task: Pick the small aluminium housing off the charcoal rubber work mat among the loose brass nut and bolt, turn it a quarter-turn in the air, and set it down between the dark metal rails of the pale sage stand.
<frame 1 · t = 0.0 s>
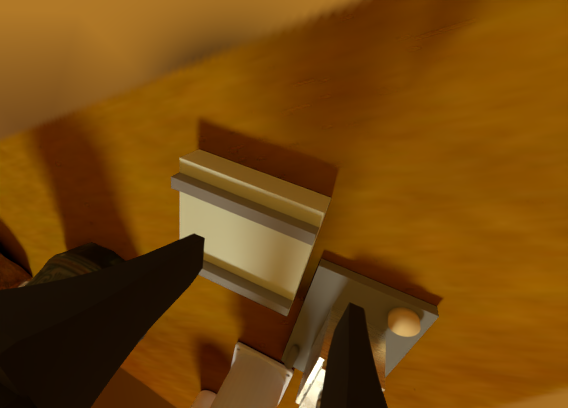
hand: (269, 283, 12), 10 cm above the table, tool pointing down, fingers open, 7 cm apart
housing: (343, 342, 26), point 1 cm above the table, touching work mat
beer stein: (120, 293, 40), on the table
rough brown rock: (8, 258, 49), on the table
drinking glass: (214, 397, 45), on the table
stand: (251, 228, 24), on the table
work mat: (345, 334, 26), on the table
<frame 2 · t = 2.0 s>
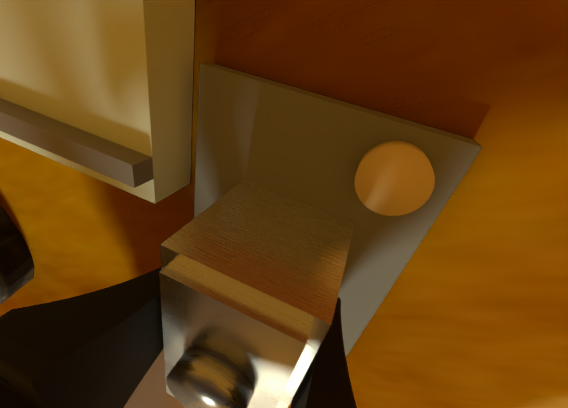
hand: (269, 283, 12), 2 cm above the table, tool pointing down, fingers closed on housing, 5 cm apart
housing: (278, 266, 13), point 1 cm above the table, touching gripper, work mat
stand: (82, 25, 12), on the table
work mat: (285, 254, 14), on the table
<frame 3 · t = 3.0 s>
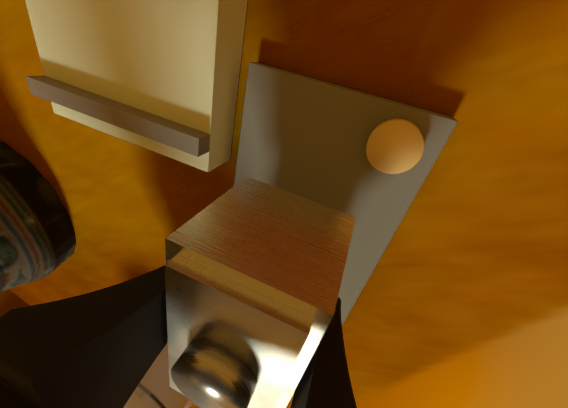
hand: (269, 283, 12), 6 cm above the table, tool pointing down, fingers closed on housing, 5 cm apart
housing: (279, 262, 13), point 5 cm above the table, touching gripper
beer stein: (31, 214, 31), on the table
stand: (150, 32, 15), on the table
work mat: (306, 216, 17), on the table
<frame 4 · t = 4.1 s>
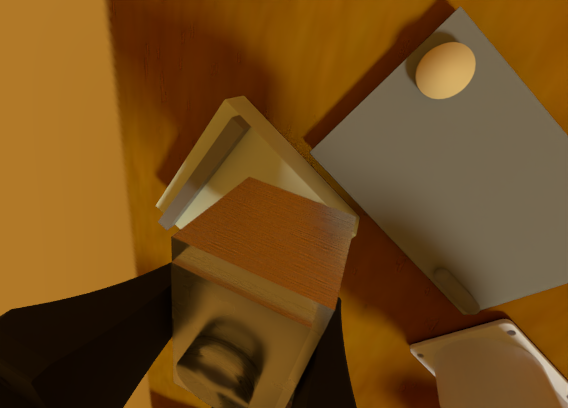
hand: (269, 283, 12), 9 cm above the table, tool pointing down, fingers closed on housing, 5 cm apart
housing: (281, 261, 13), point 8 cm above the table, touching gripper
stand: (256, 204, 22), on the table
work mat: (458, 189, 16), on the table
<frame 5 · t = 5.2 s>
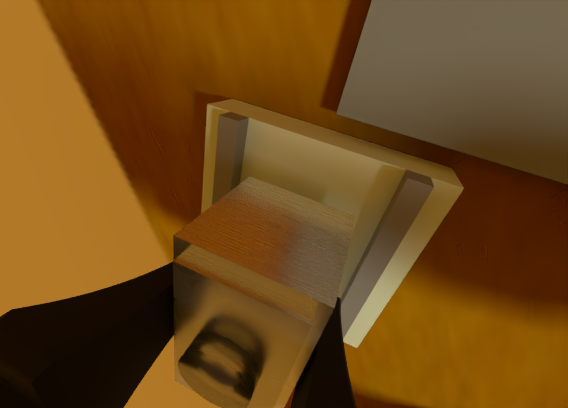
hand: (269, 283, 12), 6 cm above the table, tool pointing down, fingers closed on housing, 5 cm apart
housing: (281, 260, 13), point 4 cm above the table, touching gripper
stand: (304, 220, 17), on the table
when the fingers open (5 cm above the table, at t = 6.2 s): housing stays where it is, resting on stand.
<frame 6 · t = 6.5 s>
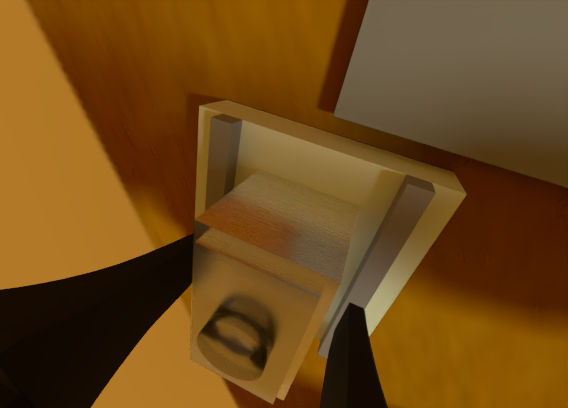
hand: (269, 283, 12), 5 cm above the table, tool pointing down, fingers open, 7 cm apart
housing: (288, 249, 14), point 2 cm above the table, touching stand
stand: (301, 225, 16), on the table
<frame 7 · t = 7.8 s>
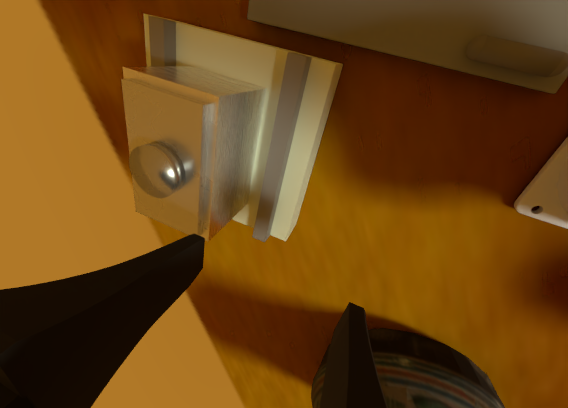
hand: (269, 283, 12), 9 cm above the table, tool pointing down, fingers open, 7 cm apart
housing: (222, 141, 18), point 2 cm above the table, touching stand
beer stein: (416, 386, 26), on the table
stand: (240, 132, 20), on the table
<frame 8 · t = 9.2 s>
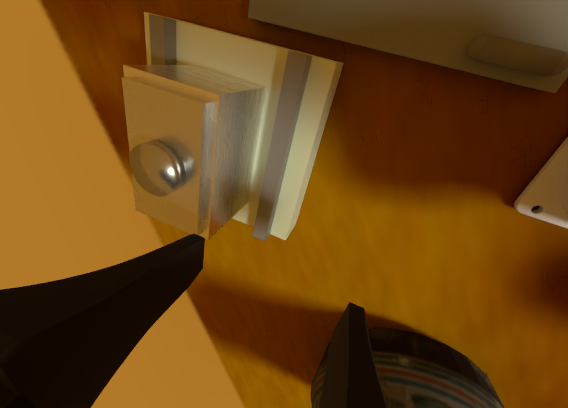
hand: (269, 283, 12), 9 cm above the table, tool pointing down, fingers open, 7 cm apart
housing: (223, 140, 17), point 2 cm above the table, touching stand
beer stein: (416, 386, 26), on the table
stand: (240, 131, 20), on the table
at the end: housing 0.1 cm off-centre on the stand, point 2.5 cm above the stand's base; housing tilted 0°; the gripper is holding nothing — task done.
